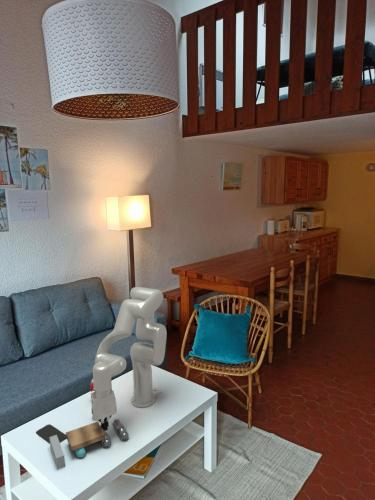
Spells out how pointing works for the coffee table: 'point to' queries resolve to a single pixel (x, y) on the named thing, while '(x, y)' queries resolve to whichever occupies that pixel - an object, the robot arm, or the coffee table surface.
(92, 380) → the soda can
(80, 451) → the roller
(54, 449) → the block
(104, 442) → the roller
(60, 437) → the phone
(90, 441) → the slab
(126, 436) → the roller
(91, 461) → the coffee table surface
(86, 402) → the coffee table surface
